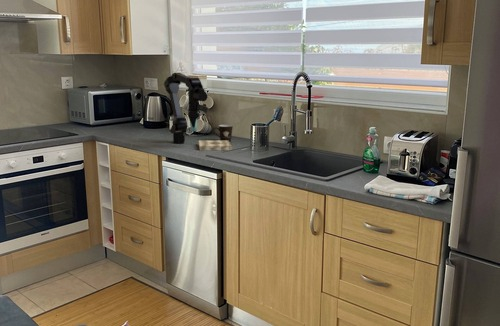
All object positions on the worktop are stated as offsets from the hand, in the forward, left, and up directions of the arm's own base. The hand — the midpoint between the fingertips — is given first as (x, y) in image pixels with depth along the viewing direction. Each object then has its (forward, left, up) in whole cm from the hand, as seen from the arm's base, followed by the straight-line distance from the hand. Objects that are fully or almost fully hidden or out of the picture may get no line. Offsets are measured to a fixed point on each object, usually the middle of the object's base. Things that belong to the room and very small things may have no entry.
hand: (193, 126), depth 289 cm
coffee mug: (+19, +20, -12) cm, 30 cm away
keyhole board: (+12, 0, -12) cm, 17 cm away
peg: (0, 0, -2) cm, 2 cm away
